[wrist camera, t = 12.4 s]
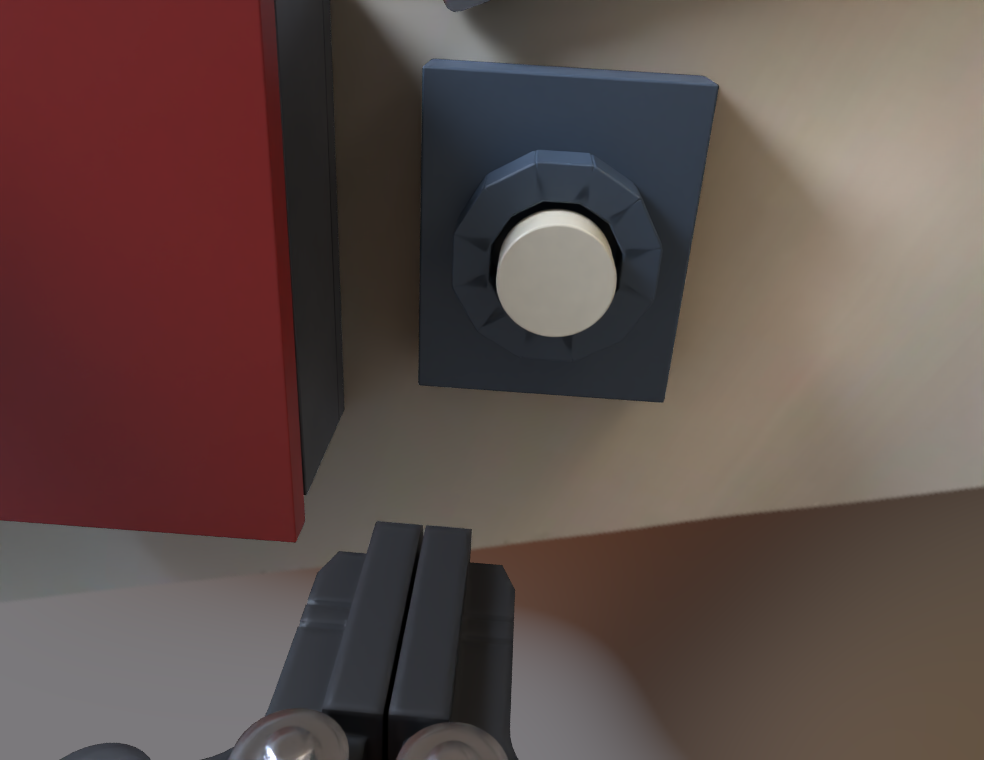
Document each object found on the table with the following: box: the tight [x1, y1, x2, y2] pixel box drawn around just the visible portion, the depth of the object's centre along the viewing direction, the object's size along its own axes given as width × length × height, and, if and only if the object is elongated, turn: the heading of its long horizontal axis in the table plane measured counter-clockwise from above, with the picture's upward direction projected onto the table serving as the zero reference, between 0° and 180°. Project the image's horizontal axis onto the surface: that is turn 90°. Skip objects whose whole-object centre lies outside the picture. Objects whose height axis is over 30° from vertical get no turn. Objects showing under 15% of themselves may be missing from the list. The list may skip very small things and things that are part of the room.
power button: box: [496, 209, 617, 337], centre depth 25 cm, size 4×4×2 cm
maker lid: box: [0, 0, 305, 543], centre depth 23 cm, size 17×14×1 cm
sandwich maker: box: [274, 0, 344, 495], centre depth 26 cm, size 16×14×6 cm
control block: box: [418, 59, 719, 403], centre depth 27 cm, size 11×9×4 cm
